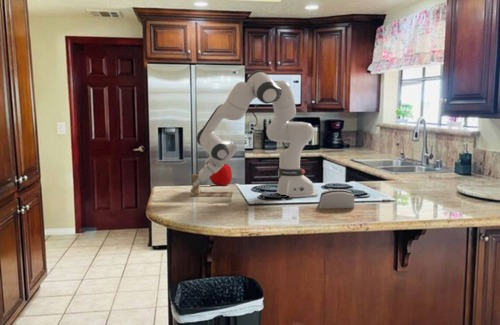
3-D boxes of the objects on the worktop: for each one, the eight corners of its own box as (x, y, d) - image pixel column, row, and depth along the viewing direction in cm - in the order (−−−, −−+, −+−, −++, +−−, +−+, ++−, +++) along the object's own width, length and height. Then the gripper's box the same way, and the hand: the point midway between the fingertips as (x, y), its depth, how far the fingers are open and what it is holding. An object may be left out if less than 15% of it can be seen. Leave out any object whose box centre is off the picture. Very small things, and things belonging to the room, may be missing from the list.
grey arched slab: (352, 205, 204) (354, 187, 199) (354, 210, 200) (357, 192, 195) (317, 205, 204) (319, 187, 199) (319, 211, 199) (320, 193, 195)
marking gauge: (201, 192, 229) (200, 173, 228) (199, 194, 223) (198, 175, 222) (192, 192, 229) (192, 173, 228) (190, 194, 223) (190, 175, 222)
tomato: (231, 187, 249) (231, 164, 247) (207, 187, 249) (207, 164, 247) (232, 182, 264) (232, 160, 263) (210, 182, 265) (210, 160, 263)
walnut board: (233, 194, 230) (233, 191, 230) (231, 199, 217) (231, 196, 217) (192, 194, 231) (192, 191, 230) (188, 199, 218) (188, 196, 217)
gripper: (208, 158, 235) (191, 176, 235) (208, 163, 215) (189, 182, 215) (216, 166, 236) (199, 183, 236) (217, 171, 216) (198, 191, 216)
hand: (194, 183), depth 225 cm, fingers open, 8 cm apart
